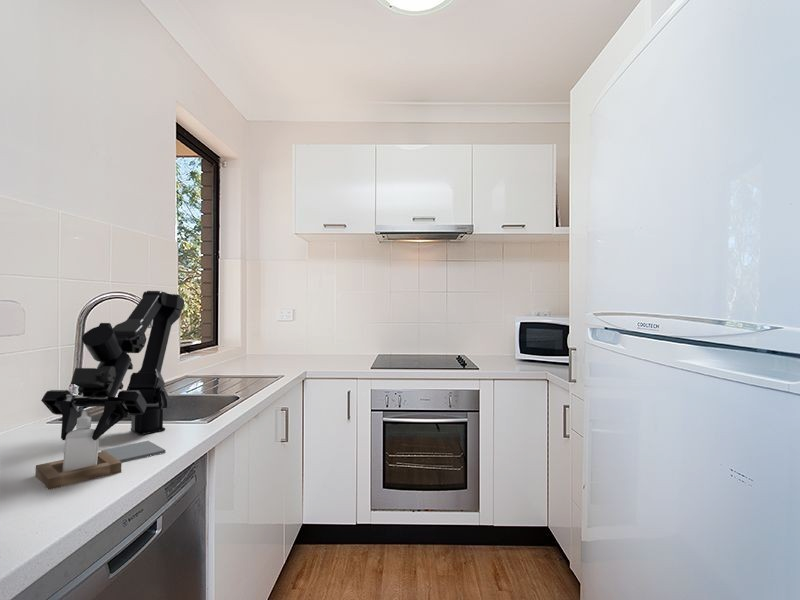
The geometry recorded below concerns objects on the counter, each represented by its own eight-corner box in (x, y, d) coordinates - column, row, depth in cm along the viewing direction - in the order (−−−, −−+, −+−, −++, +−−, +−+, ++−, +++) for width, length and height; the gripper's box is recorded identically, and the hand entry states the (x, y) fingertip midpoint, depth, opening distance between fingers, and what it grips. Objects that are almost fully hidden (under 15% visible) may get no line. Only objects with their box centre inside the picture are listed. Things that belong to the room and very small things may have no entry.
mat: (148, 443, 111) (148, 440, 111) (165, 452, 105) (165, 449, 105) (101, 452, 104) (101, 450, 104) (116, 463, 97) (116, 460, 97)
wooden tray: (105, 460, 99) (105, 451, 99) (121, 472, 92) (121, 462, 92) (35, 475, 90) (35, 465, 90) (48, 489, 83) (48, 478, 83)
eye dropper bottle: (86, 475, 89) (91, 412, 90) (57, 474, 89) (63, 412, 90) (100, 469, 93) (105, 409, 95) (73, 468, 94) (78, 409, 95)
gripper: (48, 351, 95) (6, 418, 84) (141, 352, 97) (112, 418, 86) (71, 382, 103) (35, 447, 92) (157, 382, 105) (132, 446, 94)
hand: (78, 439), depth 91 cm, fingers closed on eye dropper bottle, 5 cm apart
